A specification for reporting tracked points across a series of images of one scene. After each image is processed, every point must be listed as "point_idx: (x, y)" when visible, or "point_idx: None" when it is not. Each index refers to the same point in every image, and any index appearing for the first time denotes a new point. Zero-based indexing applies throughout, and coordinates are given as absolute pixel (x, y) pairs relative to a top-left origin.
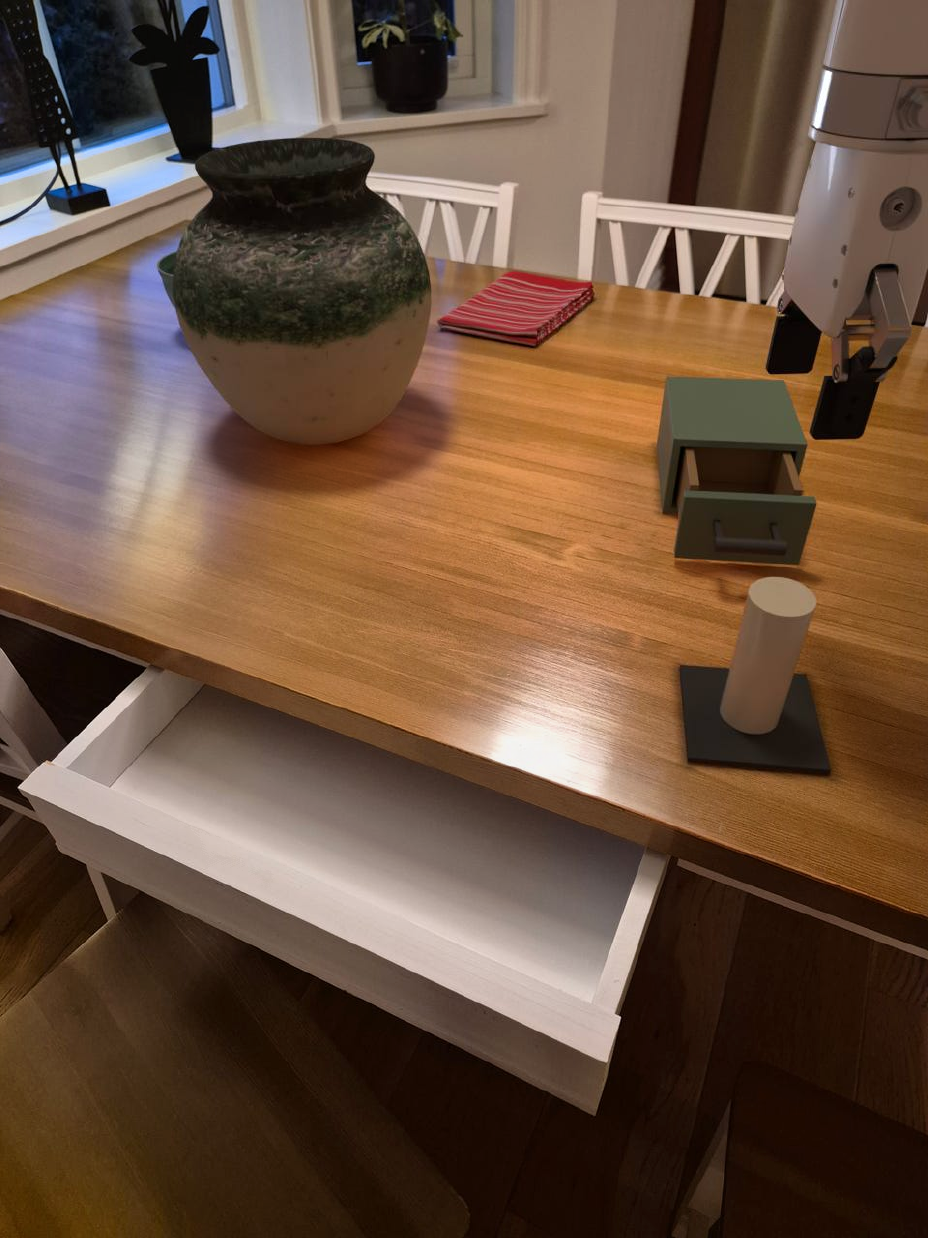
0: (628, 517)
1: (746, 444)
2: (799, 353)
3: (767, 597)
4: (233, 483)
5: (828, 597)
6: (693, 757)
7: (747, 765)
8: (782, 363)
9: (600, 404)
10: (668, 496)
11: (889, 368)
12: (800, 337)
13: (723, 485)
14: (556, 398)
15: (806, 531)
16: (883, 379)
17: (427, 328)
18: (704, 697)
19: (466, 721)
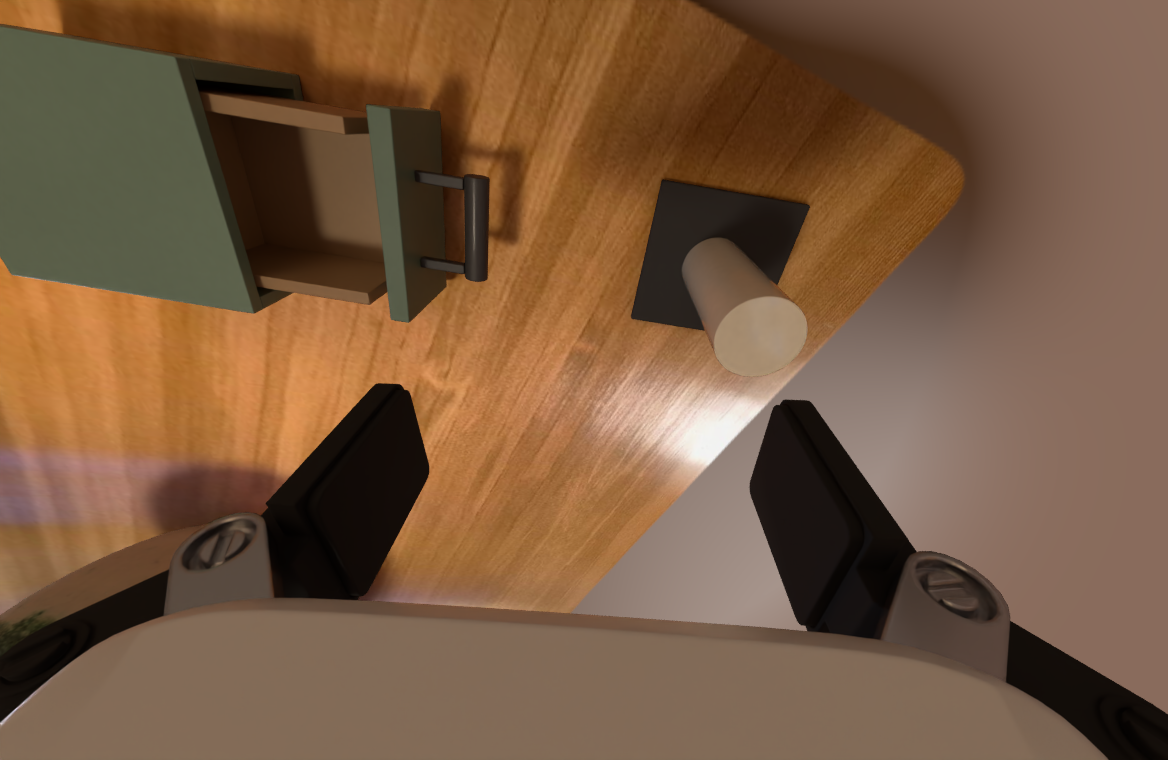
0: (355, 313)
1: (221, 191)
2: (392, 461)
3: (757, 357)
4: (383, 596)
5: (499, 78)
6: None
7: None
8: (413, 471)
9: (58, 298)
10: None
11: (1130, 695)
12: (368, 505)
13: (258, 183)
14: (77, 353)
15: (415, 114)
16: (975, 574)
17: (119, 584)
18: (681, 306)
19: (670, 476)
